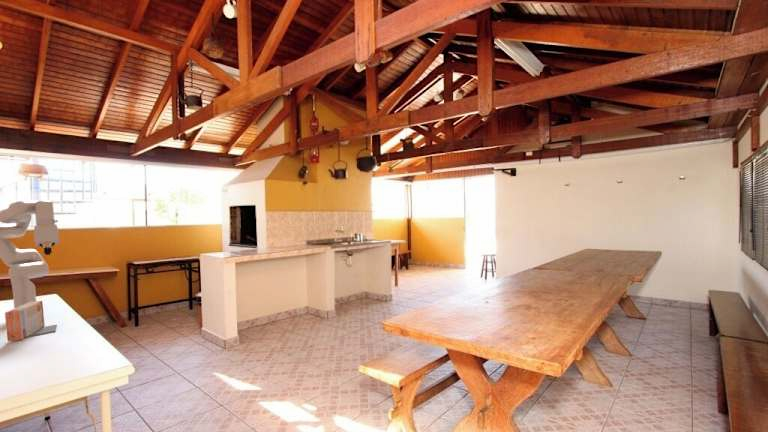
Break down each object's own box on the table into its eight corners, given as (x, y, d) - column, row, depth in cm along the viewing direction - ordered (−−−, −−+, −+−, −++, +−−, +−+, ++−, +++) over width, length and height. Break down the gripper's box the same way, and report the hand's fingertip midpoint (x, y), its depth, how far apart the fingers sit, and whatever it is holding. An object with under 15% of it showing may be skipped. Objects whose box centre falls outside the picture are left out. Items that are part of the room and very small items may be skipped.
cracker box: (28, 302, 191) (3, 312, 172) (43, 300, 194) (20, 310, 174) (30, 328, 192) (6, 341, 172) (45, 326, 194) (22, 339, 174)
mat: (25, 331, 189) (25, 330, 189) (56, 325, 197) (56, 324, 197) (22, 338, 178) (22, 337, 178) (55, 331, 186) (55, 330, 186)
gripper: (63, 221, 214) (65, 252, 215) (27, 223, 205) (30, 255, 206) (62, 221, 209) (65, 253, 209) (26, 223, 199) (29, 257, 200)
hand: (48, 254), depth 208 cm, fingers closed
